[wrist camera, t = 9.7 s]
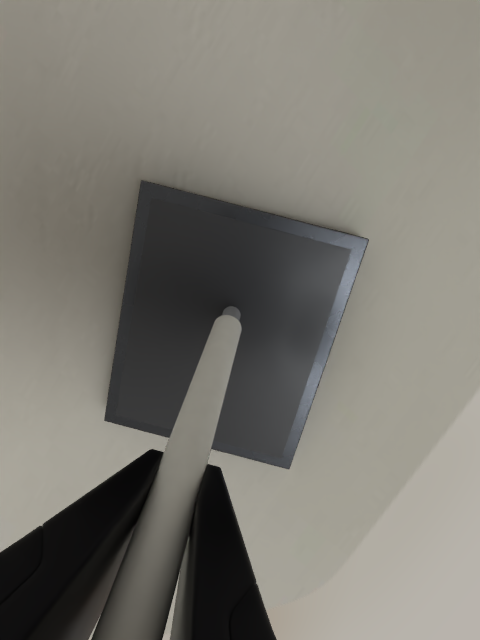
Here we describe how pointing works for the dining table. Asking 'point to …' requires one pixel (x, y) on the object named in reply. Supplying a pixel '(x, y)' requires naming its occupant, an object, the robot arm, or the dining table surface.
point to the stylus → (171, 500)
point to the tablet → (209, 303)
